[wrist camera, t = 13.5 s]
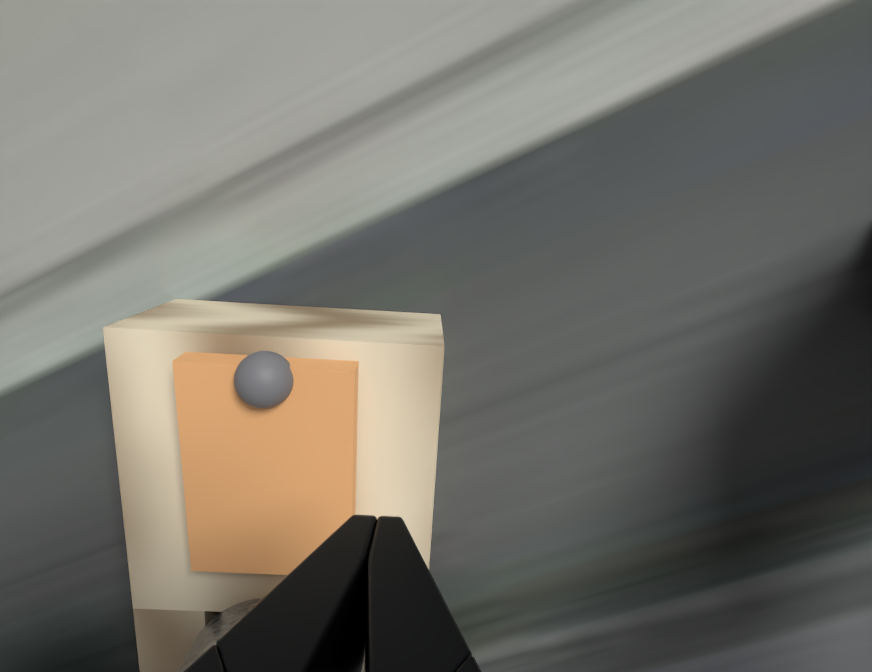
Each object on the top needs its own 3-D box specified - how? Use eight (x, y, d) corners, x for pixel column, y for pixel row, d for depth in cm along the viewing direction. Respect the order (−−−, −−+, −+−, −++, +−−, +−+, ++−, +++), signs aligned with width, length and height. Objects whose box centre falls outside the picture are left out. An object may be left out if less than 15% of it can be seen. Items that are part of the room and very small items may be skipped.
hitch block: (440, 314, 19) (444, 346, 15) (418, 650, 23) (416, 752, 19) (176, 299, 19) (102, 327, 15) (199, 642, 23) (147, 744, 19)
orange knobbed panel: (354, 559, 17) (347, 597, 15) (202, 553, 17) (179, 590, 15) (359, 348, 15) (350, 367, 13) (184, 338, 15) (155, 356, 13)
